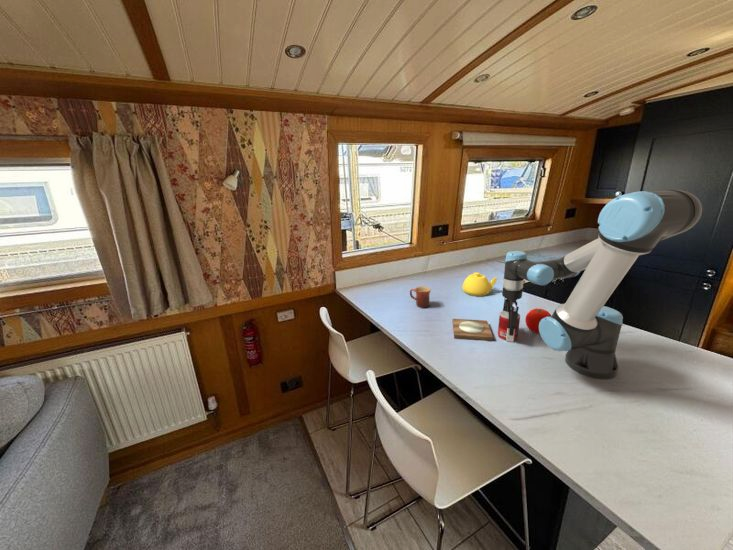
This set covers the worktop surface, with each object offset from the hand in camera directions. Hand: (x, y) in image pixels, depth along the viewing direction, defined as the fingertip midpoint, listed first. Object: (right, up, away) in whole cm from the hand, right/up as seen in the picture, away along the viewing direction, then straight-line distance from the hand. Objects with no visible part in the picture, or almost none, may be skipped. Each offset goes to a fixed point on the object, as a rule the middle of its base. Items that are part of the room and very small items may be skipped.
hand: (507, 336), depth 127 cm
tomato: (+15, +1, +3) cm, 16 cm away
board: (-14, +1, +6) cm, 15 cm away
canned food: (0, -1, 0) cm, 0 cm away
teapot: (+8, +16, +53) cm, 56 cm away
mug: (-32, +9, +37) cm, 50 cm away
